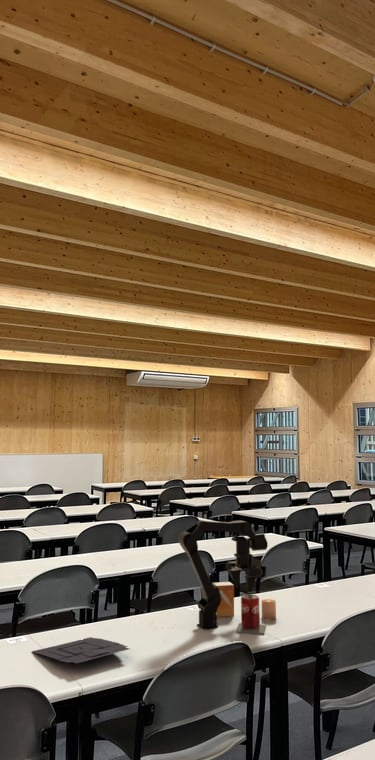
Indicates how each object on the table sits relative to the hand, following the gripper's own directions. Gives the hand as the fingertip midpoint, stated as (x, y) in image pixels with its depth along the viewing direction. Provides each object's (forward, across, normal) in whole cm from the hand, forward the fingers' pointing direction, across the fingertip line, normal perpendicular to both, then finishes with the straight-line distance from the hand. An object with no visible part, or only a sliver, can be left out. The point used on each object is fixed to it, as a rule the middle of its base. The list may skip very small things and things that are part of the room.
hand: (243, 589), depth 232 cm
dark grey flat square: (+13, -3, +71) cm, 72 cm away
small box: (+13, +14, +1) cm, 19 cm away
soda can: (+13, -9, +3) cm, 16 cm away
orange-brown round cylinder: (+13, 0, -13) cm, 18 cm away
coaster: (+13, -9, +3) cm, 16 cm away
